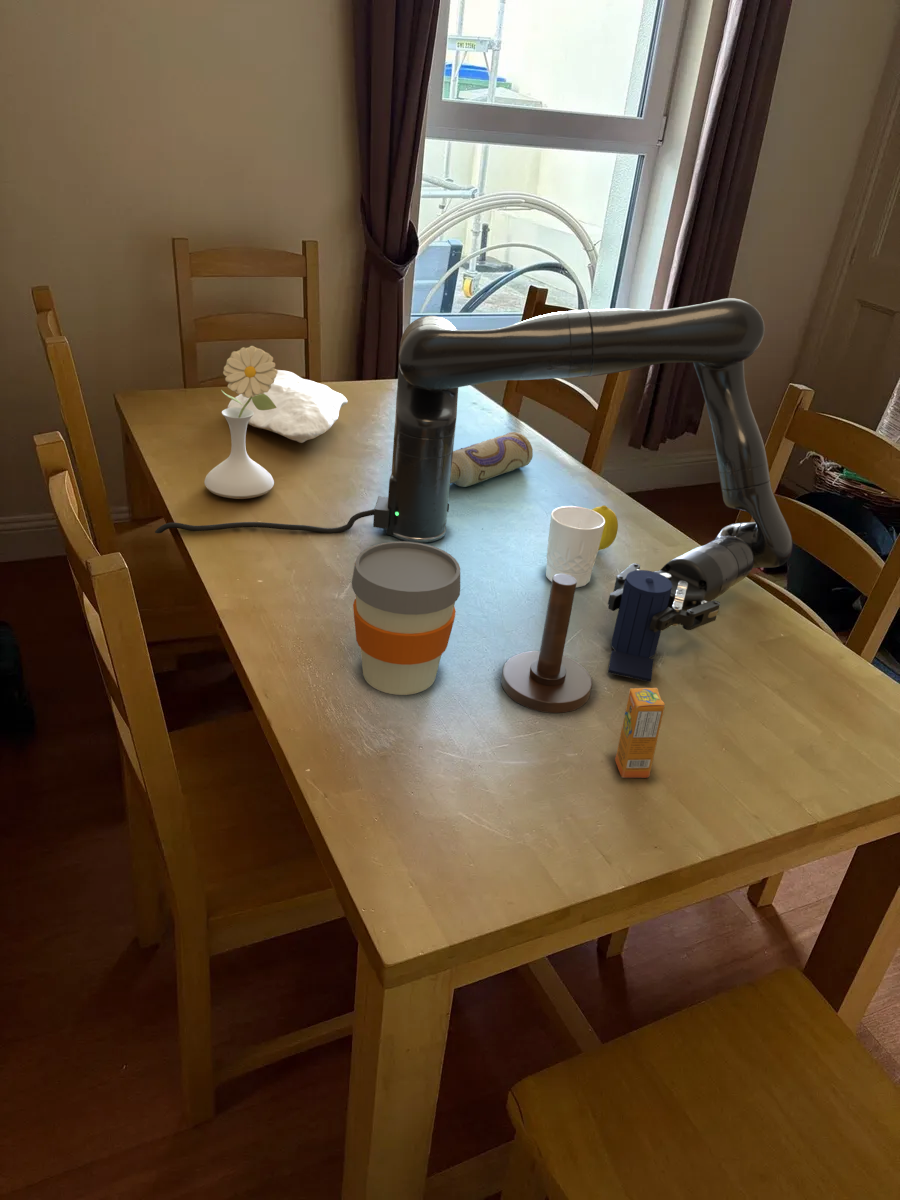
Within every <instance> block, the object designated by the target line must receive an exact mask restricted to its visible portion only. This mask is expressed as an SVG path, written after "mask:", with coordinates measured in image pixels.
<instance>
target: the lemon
mask: <svg viewBox="0 0 900 1200" xmlns="http://www.w3.org/2000/svg"><path fill="white" fill-rule="evenodd" d="M591 510H593V511H595V512H597V513H599V514H600V515H602V516H603V517H604V519H605V525H604V529H603V533H602V537H601V541H600V545H599V549H598V552H599V551H602V550H605V549H607V548H609V547H610V546H611V545H613V544H614V542H615V540H616V538H617V535H618V530H619V522H618V517H617V515H616V513H615V512H614V511H613V510H612V509H611V508H609V507H607V505H601V506H596V507H593V508H592V509H591Z"/></svg>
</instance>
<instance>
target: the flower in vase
mask: <svg viewBox="0 0 900 1200" xmlns="http://www.w3.org/2000/svg"><path fill="white" fill-rule="evenodd" d="M273 361H274V357H273V356H272V355H271V354H270V353H269V352H266V351H265V350H263V349H262V348H258V347H255V346H254V345H250V346H249V347H241V348H239V350H237V351H235V350H233V351H232V352H231V353H230V356H229V358H227V359H226V363H225V365H224V366H223V371H222V374H223V375H224V377H225V379H224V380H225V382H226V383H228V384H227V388H228V389H229V390H231V391H232V392H235V393H236V394H237V395H240V394H242V395H243V396H244V397H246V398H249V400H248V401H247V402H246V404H245V405H244V406H243V408H239V407H234V408H228V407H227V408H225V409H223V410H221V415H222V416H223V417H224V419H225V421H226V422H227V424H228V427H229V433H230V441H231V449H230V453H229V456H228V457H227V458H225V459H224V460H223V461H221V462H220V463H218V464H217V465H216V466H214V467H213V468H212V469H211V470H210V471H209V472H208V473H207V474H206V476H205V478H204V482H203V484H204V486H205V487H206V489H207V490H208V491H209V492H211V493H212V494H213V495H216V496H218V497H223V498H227V499H235V500H244V499H245V500H246V499H253V498H257V497H261V496H263V495H266V494H268V493H269V492H270V491H271V490H272V489H273V488H274V485H275V480H274V478H273V475H272V474H271V473H270V472H269V471H268V470H267V469H266V468H265V467H263V466H262V465H260V464H259V463H258V462H256V461H254V460H253V459H252V458H251V457H250V456H249V454H248V453H247V449H246V435H247V428H248V425H249V424H248V422H249V420H250V418H251V417H252V416H253V414H254V413H253V411H251V410H249V409H246V408H245V407H246V406H247V405H248V403H249V402H250V400H251V399H252V401H253V403H254V405H255V407H256V408H257V409H258V410H269V409H274V408H276V406H275V404H274V403H273V402H272V400H271V399H270V398H269V397H268V396H267V395H265V394H264V393H265V392H268V391H269V389H270V388H271V384H272V383H274V381H275V380H274V378H276V374H277V373H278V371H277V370H278V369H276V363H275V362H273ZM221 393H223V395H225V396H226V397H227V398H229V399H231V400H234V401H236V402H238V403H240V404H242V403H241V402H240V401H239V400H237V399H236V398H235V397H234V396H232V395H229V394H227V393H225V391H223V390H221ZM242 405H243V404H242Z"/></svg>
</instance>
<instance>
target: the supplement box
mask: <svg viewBox="0 0 900 1200" xmlns="http://www.w3.org/2000/svg"><path fill="white" fill-rule="evenodd" d="M665 706H666V704H665V702H664V701H663V699H662V697H661V696H660V693H659V689H658V687H637V688H636V687H634V688H629V693H628V698H627V703H626V707H625V711H624V715H623V716H624V717H623V721H622V726H621V731H620V735H619V740H618V745H617V750H616V755H615V758H614V761H615V763H616V767H617V769H618V772H619V775H620V777H621V778H622V779H644V778H645V779H646V778H649V777H650V775H651V770H652V766H653V763H654V762H653V761H654V757H655V754H656V753H655V752H656V748H657V745H658V744H657V742H658V739H659V735H660V731H661V726H662V721H663V716H664V712H665Z"/></svg>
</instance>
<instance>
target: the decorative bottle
mask: <svg viewBox="0 0 900 1200" xmlns="http://www.w3.org/2000/svg"><path fill="white" fill-rule="evenodd" d="M533 450H534V449H533V447H532V443H531V442H530V440H529V439H528V438H527V437H526V436H525V435H524V434H522V433H520V432H516V431H511V432H507V433H505V434H503V435H499V436H495V437H493V438H489V439H487V440H482V441H481V442H477V443H474V444H470V445H468V446H465V447H460V448H459V449H455V450H453V457H452V467H451V477H450V484H455V485H456V486H458V487H460V488H466V487H471V486H474V485H476V484H478V483H483V482H484V481H487V480H489V479H492V478H495V477H497V476H500V475H503V474H506V473H509V472H513V471H514V470H516V469H521V468H524V467H526V466H529V464H530V463H531V461H532V460H533V456H534V454H533V453H534V452H533Z"/></svg>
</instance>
